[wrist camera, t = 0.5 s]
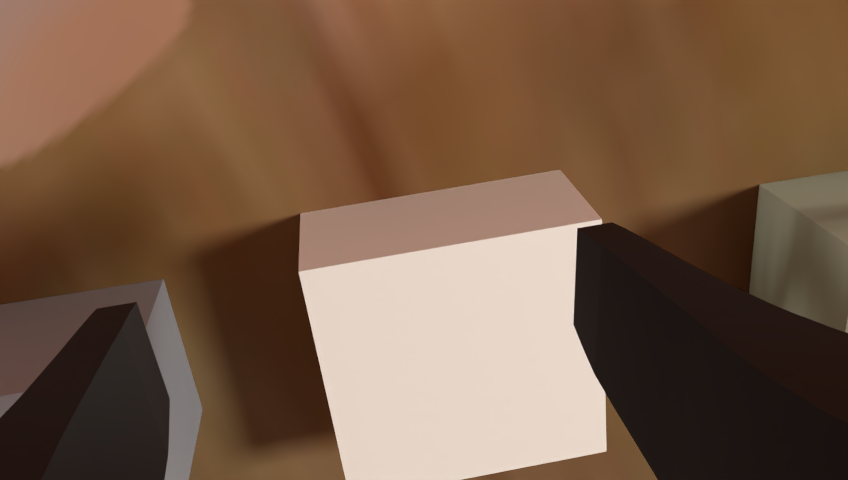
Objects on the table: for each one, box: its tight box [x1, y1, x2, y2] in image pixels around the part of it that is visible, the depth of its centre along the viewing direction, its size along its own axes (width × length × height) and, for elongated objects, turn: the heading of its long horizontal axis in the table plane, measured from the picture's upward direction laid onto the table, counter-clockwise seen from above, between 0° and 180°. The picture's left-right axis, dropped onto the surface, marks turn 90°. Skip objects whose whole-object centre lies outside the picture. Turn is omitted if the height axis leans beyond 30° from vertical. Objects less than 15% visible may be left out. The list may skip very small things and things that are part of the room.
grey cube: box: [0, 279, 202, 480], centre depth 22 cm, size 5×5×5 cm
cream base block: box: [298, 170, 606, 480], centre depth 23 cm, size 8×8×4 cm
